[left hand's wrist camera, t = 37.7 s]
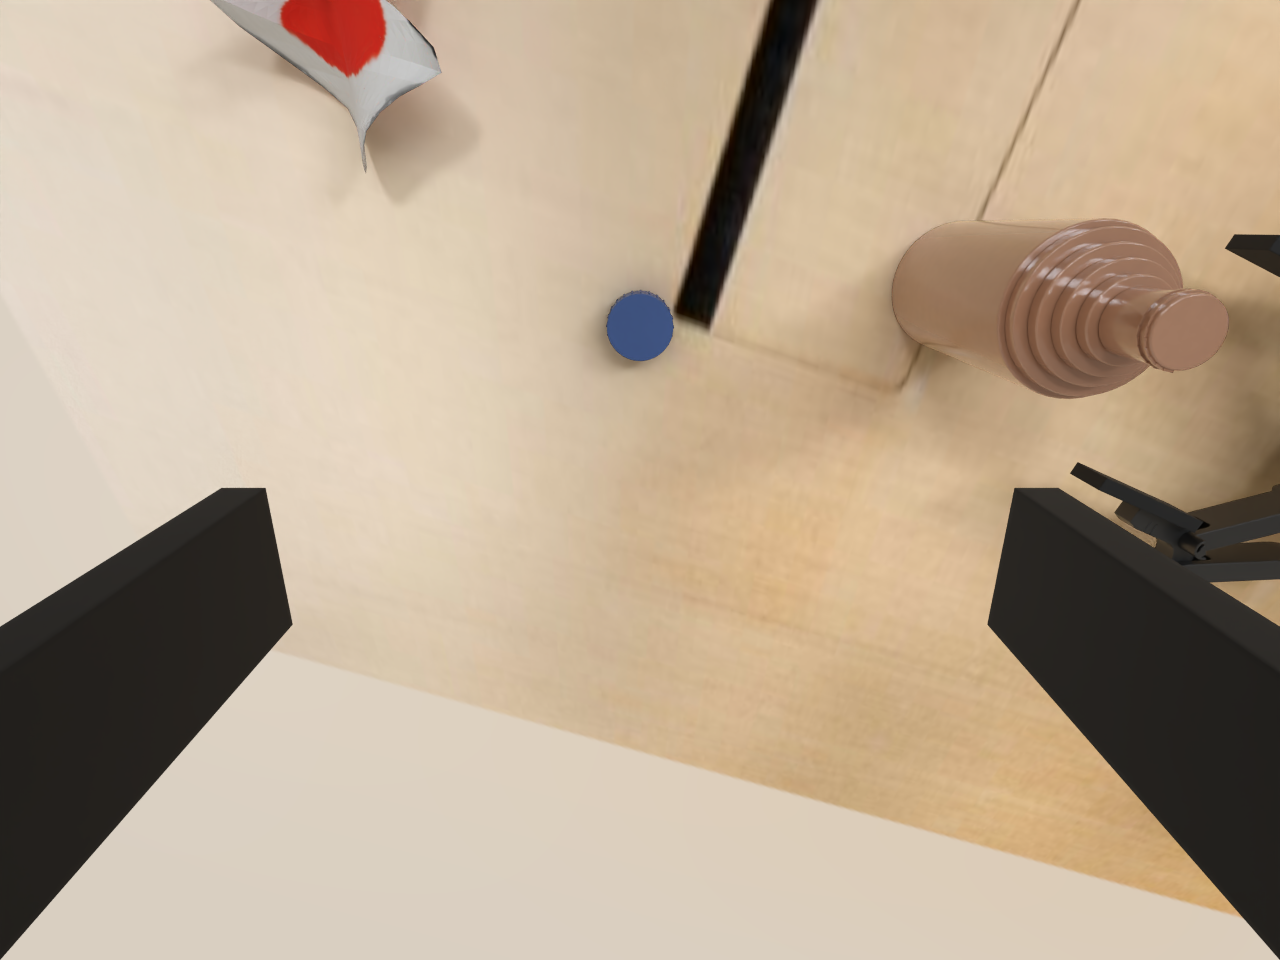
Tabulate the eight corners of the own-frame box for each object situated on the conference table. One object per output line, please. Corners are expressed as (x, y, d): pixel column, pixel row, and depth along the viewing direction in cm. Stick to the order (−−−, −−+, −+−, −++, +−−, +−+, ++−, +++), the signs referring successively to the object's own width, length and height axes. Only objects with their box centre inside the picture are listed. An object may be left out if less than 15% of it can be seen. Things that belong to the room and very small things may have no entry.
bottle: (918, 206, 40) (1142, 191, 22) (1037, 238, 41) (1349, 247, 23) (873, 333, 43) (1043, 411, 25) (987, 361, 43) (1232, 457, 25)
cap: (645, 368, 44) (645, 375, 42) (594, 328, 43) (592, 333, 41) (685, 318, 43) (687, 322, 41) (634, 275, 42) (634, 278, 40)
